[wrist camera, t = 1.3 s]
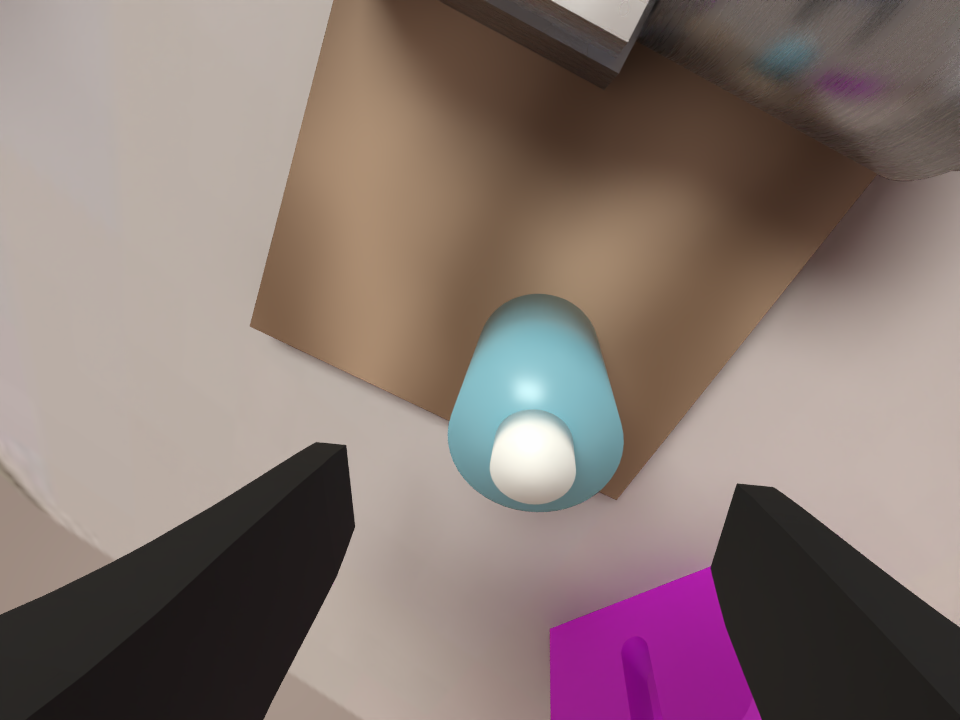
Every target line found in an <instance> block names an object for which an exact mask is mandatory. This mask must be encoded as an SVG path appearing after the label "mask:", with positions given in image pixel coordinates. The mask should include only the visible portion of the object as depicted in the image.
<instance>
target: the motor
mask: <svg viewBox="0 0 960 720" xmlns="http://www.w3.org/2000/svg"><path fill="white" fill-rule="evenodd" d="M438 1H440V2H442V3H443V4H445V5H447V6H449V7H451V8H453V9H455V10H456V11H458V12H460V13H462V14H464V15H466V16H468V17H469V18H471V19H473V20H475V21H477V22H479V23H481V24H482V25H484V26H486V27H488V28H490V29H492V30H494V31H495V32H497V33H499V34H501V35H503V36H505V37H507V38H508V39H510V40H512V41H514V42H516V43H518V44H520V45H521V46H523V47H525V48H527V49H529V50H531V51H533V52H534V53H536V54H538V55H540V56H542V57H544V58H546V59H547V60H549V61H551V62H553V63H555V64H557V65H559V66H560V67H562V68H564V69H566V70H568V71H570V72H572V73H573V74H575V75H577V76H579V77H581V78H583V79H585V80H586V81H588V82H590V83H592V84H594V85H596V86H598V87H599V88H601V89H603V90H604V89H605V88H606V87H607V86H608V85H609V84H610V83H611V82H612V81H613V79H614V78H615V77H616V76H617V75H618V74H619V72H620V70H621V68H622V66H623V64H624V62H625V61H626V59H627V57H628V55H629V53H630V51H631V49H632V47H633V45H634V43H635V41H636V42H638V43H640V44H642V45H644V46H646V47H647V48H649V49H651V50H653V51H655V52H656V53H658V54H660V55H662V56H664V57H666V58H667V59H669V60H671V61H673V62H675V63H676V64H678V65H680V66H682V67H684V68H686V69H687V70H689V71H691V72H693V73H695V74H697V75H698V76H700V77H702V78H704V79H706V80H707V81H709V82H711V83H713V84H715V85H717V86H718V87H720V88H722V89H724V90H726V91H727V92H729V93H731V94H733V95H735V96H737V97H738V98H740V99H742V100H744V101H746V102H748V103H749V104H751V105H753V106H755V107H757V108H758V109H760V110H762V111H764V112H766V113H768V114H769V115H771V116H773V117H775V118H777V119H778V120H780V121H782V122H784V123H786V124H788V125H789V126H791V127H793V128H795V129H797V130H798V131H800V132H802V133H804V134H806V135H808V136H809V137H811V138H813V139H815V140H817V141H819V142H820V143H822V144H824V145H826V146H828V147H829V148H831V149H833V150H835V151H837V152H839V153H840V154H842V155H844V156H846V157H848V158H849V159H851V160H853V161H855V162H857V163H859V164H860V165H862V166H864V167H866V168H868V169H870V170H871V171H873V172H875V173H877V174H879V175H881V176H883V177H885V178H887V179H891V180H896V181H912V180H919V179H925V178H929V177H933V176H937V175H940V174H944V173H947V172H950V171H960V0H438Z"/></svg>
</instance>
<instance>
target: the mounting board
mask: <svg viewBox="0 0 960 720" xmlns="http://www.w3.org/2000/svg"><path fill="white" fill-rule="evenodd" d="M876 175H877V173H875V172H873V171H871V170H870V169H868V168H866V167H864V166H862V165H860V164H859V163H857V162H855V161H853V160H851V159H849V158H848V157H846V156H844V155H842V154H840V153H839V152H837V151H835V150H833V149H831V148H829V147H828V146H826V145H824V144H822V143H820V142H819V141H817V140H815V139H813V138H811V137H809V136H808V135H806V134H804V133H802V132H800V131H798V130H797V129H795V128H793V127H791V126H789V125H788V124H786V123H784V122H782V121H780V120H778V119H777V118H775V117H773V116H771V115H769V114H768V113H766V112H764V111H762V110H760V109H758V108H757V107H755V106H753V105H751V104H749V103H748V102H746V101H744V100H742V99H740V98H738V97H737V96H735V95H733V94H731V93H729V92H727V91H726V90H724V89H722V88H720V87H718V86H717V85H715V84H713V83H711V82H709V81H707V80H706V79H704V78H702V77H700V76H698V75H697V74H695V73H693V72H691V71H689V70H687V69H686V68H684V67H682V66H680V65H678V64H676V63H675V62H673V61H671V60H669V59H667V58H666V57H664V56H662V55H660V54H658V53H656V52H655V51H653V50H651V49H649V48H647V47H646V46H644V45H642V44H640V43H638V42H636V41H635V43H634V45H633V47H632V49H631V51H630V53H629V55H628V57H627V59H626V61H625V62H624V64H623V66H622V68H621V70H620V72H619V74H618V75H617V76H616V77H615V78H614V79H613V81H612V82H611V83H610V84H609V85H608V86H607V87H606V88H605V89H604V90H603V89H601V88H599V87H598V86H596V85H594V84H592V83H590V82H588V81H586V80H585V79H583V78H581V77H579V76H577V75H575V74H573V73H572V72H570V71H568V70H566V69H564V68H562V67H560V66H559V65H557V64H555V63H553V62H551V61H549V60H547V59H546V58H544V57H542V56H540V55H538V54H536V53H534V52H533V51H531V50H529V49H527V48H525V47H523V46H521V45H520V44H518V43H516V42H514V41H512V40H510V39H508V38H507V37H505V36H503V35H501V34H499V33H497V32H495V31H494V30H492V29H490V28H488V27H486V26H484V25H482V24H481V23H479V22H477V21H475V20H473V19H471V18H469V17H468V16H466V15H464V14H462V13H460V12H458V11H456V10H455V9H453V8H451V7H449V6H447V5H445V4H443V3H442V2H440V1H438V0H334V1H333V4H332V8H331V12H330V16H329V20H328V24H327V28H326V32H325V36H324V39H323V43H322V47H321V51H320V55H319V59H318V63H317V67H316V71H315V74H314V78H313V82H312V86H311V90H310V94H309V98H308V102H307V106H306V109H305V113H304V117H303V121H302V125H301V129H300V133H299V137H298V141H297V144H296V148H295V152H294V156H293V160H292V164H291V168H290V172H289V176H288V179H287V183H286V187H285V191H284V195H283V199H282V203H281V207H280V211H279V214H278V218H277V222H276V226H275V230H274V234H273V238H272V242H271V246H270V249H269V253H268V257H267V261H266V265H265V269H264V273H263V277H262V281H261V284H260V288H259V292H258V296H257V300H256V304H255V308H254V312H253V316H252V319H251V323H250V327H252V328H254V329H257V330H259V331H261V332H263V333H265V334H267V335H269V336H271V337H273V338H276V339H278V340H280V341H282V342H284V343H286V344H288V345H290V346H292V347H295V348H297V349H299V350H301V351H303V352H305V353H307V354H309V355H311V356H314V357H316V358H318V359H320V360H322V361H324V362H326V363H328V364H330V365H332V366H335V367H337V368H339V369H341V370H343V371H345V372H347V373H349V374H351V375H354V376H356V377H358V378H360V379H362V380H364V381H366V382H368V383H370V384H373V385H375V386H377V387H379V388H381V389H383V390H385V391H387V392H389V393H392V394H394V395H396V396H398V397H400V398H402V399H404V400H406V401H408V402H411V403H413V404H415V405H417V406H419V407H421V408H423V409H425V410H427V411H430V412H432V413H434V414H436V415H438V416H440V417H442V418H444V419H446V420H449V421H450V418H451V414H452V411H453V409H454V406H455V403H456V400H457V398H458V395H459V392H460V389H461V387H462V384H463V381H464V378H465V376H466V373H467V370H468V368H469V365H470V362H471V359H472V357H473V354H474V351H475V348H476V346H477V343H478V340H479V337H480V335H481V332H482V330H483V327H484V325H485V323H486V322H487V320H488V318H489V317H490V316H491V315H492V313H493V312H494V311H495V310H497V309H498V308H499V307H500V306H501V305H503V304H504V303H506V302H508V301H510V300H512V299H514V298H517V297H519V296H523V295H528V294H548V295H554V296H557V297H560V298H563V299H565V300H567V301H569V302H571V303H573V304H574V305H576V306H577V307H578V308H579V309H581V310H582V311H583V312H584V314H585V315H586V316H587V317H588V318H589V320H590V321H591V323H592V325H593V327H594V329H595V332H596V335H597V338H598V342H599V345H600V349H601V352H602V356H603V360H604V363H605V367H606V370H607V374H608V378H609V381H610V385H611V388H612V392H613V396H614V399H615V403H616V406H617V410H618V414H619V417H620V421H621V425H622V430H623V440H624V445H623V453H622V457H621V460H620V463H619V466H618V468H617V470H616V472H615V473H614V475H613V476H612V478H611V479H610V481H609V482H608V483H607V484H606V485H605V486H604V487H603V488H602V489H601V490H600V491H599V492H601V493H603V494H605V495H607V496H609V497H611V498H613V499H615V500H617V499H618V497H619V496H620V495H621V494H622V492H623V491H624V490H625V489H626V487H627V486H628V485H629V484H630V482H631V481H632V480H633V479H634V477H635V476H636V475H637V474H638V472H639V471H640V470H641V469H642V467H643V466H644V465H645V464H646V462H647V461H648V460H649V459H650V457H651V456H652V455H653V454H654V452H655V451H656V450H657V449H658V447H659V446H660V445H661V444H662V443H663V441H664V440H665V439H666V438H667V436H668V435H669V434H670V433H671V431H672V430H673V429H674V428H675V426H676V425H677V424H678V423H679V421H680V420H681V419H682V418H683V416H684V415H685V414H686V413H687V411H688V410H689V409H690V408H691V406H692V405H693V404H694V403H695V401H696V400H697V399H698V398H699V396H700V395H701V394H702V393H703V391H704V390H705V389H706V388H707V386H708V385H709V384H710V383H711V381H712V380H713V379H714V378H715V376H716V375H717V374H718V373H719V371H720V370H721V369H722V368H723V366H724V365H725V364H726V363H727V361H728V360H729V359H730V358H731V356H732V355H733V354H734V353H735V351H736V350H737V349H738V348H739V346H740V345H741V344H742V343H743V341H744V340H745V339H746V338H747V336H748V335H749V334H750V333H751V331H752V330H753V329H754V328H755V326H756V325H757V324H758V323H759V321H760V320H761V319H762V318H763V316H764V315H765V314H766V313H767V311H768V310H769V309H770V308H771V306H772V305H773V304H774V303H775V301H776V300H777V299H778V298H779V296H780V295H781V294H782V293H783V291H784V290H785V289H786V288H787V286H788V285H789V284H790V283H791V281H792V280H793V279H794V278H795V276H796V275H797V274H798V273H799V271H800V270H801V269H802V268H803V266H804V265H805V264H806V263H807V261H808V260H809V259H810V258H811V256H812V255H813V254H814V253H815V251H816V250H817V249H818V248H819V246H820V245H821V244H822V243H823V241H824V240H825V239H826V238H827V236H828V235H829V234H830V233H831V231H832V230H833V229H834V228H835V226H836V225H837V224H838V223H839V221H840V220H841V219H842V218H843V216H844V215H845V214H846V213H847V211H848V210H849V209H850V208H851V206H852V205H853V204H854V203H855V201H856V200H857V199H858V198H859V196H860V195H861V194H862V193H863V191H864V190H865V189H866V188H867V186H868V185H869V184H870V183H871V181H872V180H873V179H874V178H875V176H876Z"/></svg>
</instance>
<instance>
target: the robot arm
mask: <svg viewBox="0 0 960 720" xmlns="http://www.w3.org/2000/svg"><path fill="white" fill-rule="evenodd" d="M354 528H355V522H354V512H353V503H352V494H351V485H350V476H349V467H348V457H347V448H346V445H339V444H329V443H319V442H316V443H314V444H312V445H310V446H309V447H307V448H305V449H303V450H302V451H300V452H298V453H297V454H295V455H293V456H292V457H290V458H289V459H287V460H285V461H284V462H282V463H281V464H279V465H277V466H276V467H274V468H273V469H271V470H270V471H268V472H266V473H265V474H263V475H262V476H260V477H259V478H257V479H255V480H254V481H252V482H251V483H249V484H247V485H246V486H244V487H243V488H241V489H239V490H238V491H236V492H234V493H233V494H231V495H230V496H228V497H226V498H225V499H223V500H222V501H220V502H218V503H217V504H215V505H213V506H212V507H210V508H208V509H207V510H205V511H203V512H201V513H200V514H198V515H196V516H194V517H193V518H191V519H189V520H188V521H186V522H184V523H182V524H181V525H179V526H177V527H175V528H174V529H172V530H170V531H168V532H167V533H165V534H163V535H161V536H160V537H158V538H156V539H155V540H153V541H151V542H149V543H147V544H146V545H144V546H142V547H140V548H138V549H136V550H135V551H133V552H131V553H129V554H127V555H125V556H123V557H121V558H119V559H117V560H115V561H114V562H112V563H110V564H108V565H106V566H104V567H102V568H100V569H98V570H96V571H94V572H92V573H90V574H88V575H86V576H84V577H82V578H80V579H77V580H75V581H73V582H71V583H69V584H67V585H65V586H63V587H61V588H59V589H57V590H55V591H53V592H51V593H48V594H46V595H44V596H42V597H40V598H38V599H35V600H33V601H31V602H28V603H26V604H24V605H21V606H19V607H17V608H15V609H12V610H10V611H8V612H6V613H3V614H1V615H0V720H263V719H264V717H265V715H266V713H267V711H268V709H269V707H270V704H271V702H272V700H273V698H274V696H275V695H276V692H277V691H278V689H279V687H280V685H281V683H282V681H283V679H284V677H285V675H286V673H287V672H288V670H289V668H290V666H291V664H292V662H293V660H294V658H295V656H296V654H297V652H298V650H299V648H300V647H301V645H302V643H303V641H304V639H305V637H306V635H307V633H308V631H309V629H310V627H311V625H312V624H313V622H314V620H315V618H316V616H317V614H318V612H319V610H320V608H321V606H322V604H323V602H324V600H325V598H326V596H327V594H328V592H329V590H330V588H331V586H332V584H333V582H334V580H335V578H336V576H337V574H338V571H339V569H340V566H341V564H342V561H343V558H344V556H345V553H346V551H347V548H348V545H349V542H350V539H351V537H352V534H353V531H354ZM710 569H711V573H712V577H713V581H714V585H715V589H716V593H717V597H718V601H719V605H720V608H721V612H722V616H723V619H724V623H725V627H726V629H727V632H728V635H729V637H730V640H731V643H732V645H733V648H734V650H735V653H736V655H737V658H738V661H739V663H740V666H741V668H742V671H743V673H744V676H745V679H746V681H747V684H748V686H749V689H750V691H751V694H752V696H753V699H754V701H755V704H756V706H757V709H758V711H759V714H760V716H761V719H762V720H960V627H958V626H957V625H956V624H954V623H953V622H951V621H950V620H949V619H947V618H946V617H944V616H943V615H942V614H940V613H939V612H938V611H936V610H935V609H934V608H932V607H931V606H930V605H928V604H927V603H926V602H924V601H923V600H921V599H920V598H919V597H917V596H916V595H915V594H913V593H912V592H911V591H909V590H908V589H907V588H905V587H904V586H903V585H901V584H900V583H899V582H897V581H896V580H895V579H894V578H892V577H891V576H890V575H888V574H887V573H886V572H884V571H883V570H882V569H880V568H879V567H878V566H877V565H875V564H874V563H873V562H871V561H870V560H869V559H867V558H866V557H865V556H864V555H862V554H861V553H860V552H858V551H857V550H856V549H855V548H853V547H852V546H851V545H849V544H848V543H847V542H846V541H844V540H843V539H842V538H840V537H839V536H838V535H837V534H835V533H834V532H833V531H832V530H830V529H829V528H828V527H826V526H825V525H824V524H823V523H821V522H820V521H819V520H817V519H816V518H815V517H813V516H812V515H811V514H810V513H808V512H807V511H806V510H804V509H803V508H802V507H800V506H799V505H798V504H796V503H795V502H794V501H792V500H791V499H790V498H788V497H787V496H786V495H784V494H783V493H781V492H780V491H778V490H777V489H775V488H774V487H766V486H756V485H746V484H737V485H736V488H735V491H734V494H733V498H732V501H731V504H730V507H729V511H728V514H727V517H726V520H725V523H724V527H723V530H722V533H721V536H720V539H719V543H718V546H717V549H716V552H715V555H714V559H713V562H712V565H711V568H710Z"/></svg>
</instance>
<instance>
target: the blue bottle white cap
mask: <svg viewBox="0 0 960 720" xmlns="http://www.w3.org/2000/svg"><path fill="white" fill-rule="evenodd" d="M448 444H449V449H450V453H451V456H452V459H453V462H454V464H455V465H456V467H457V469H458V471H459V472H460V474H461V475H462V476H463V478H464V479H465V480H466V481H467V482H468V483H469V484H470V486H472V487H473V488H474V489H475V490H476V491H477V492H479V493H480V494H482V495H483V496H485V497H486V498H488V499H490V500H492V501H494V502H495V503H498V504H500V505H503V506H505V507H509V508H512V509H516V510H522V511H529V512H550V511H557V510H562V509H566V508H569V507H572V506H575V505H578V504H580V503H582V502H584V501H586V500H588V499H589V498H591V497H592V496H594V495H595V494H597V493H598V492H599V491H600V490H601V489H602V488H603V487H604V486H605V485H606V484H607V483H608V482H609V481H610V479H611V478H612V476H613V475H614V473H615V472H616V470H617V468H618V466H619V463H620V460H621V457H622V453H623V445H624V440H623V430H622V425H621V421H620V417H619V414H618V410H617V406H616V403H615V399H614V396H613V392H612V388H611V385H610V381H609V378H608V374H607V370H606V367H605V363H604V360H603V356H602V352H601V349H600V345H599V342H598V338H597V335H596V332H595V329H594V327H593V325H592V323H591V321H590V320H589V318H588V317H587V316H586V315H585V314H584V312H583V311H582V310H581V309H579V308H578V307H577V306H576V305H574V304H573V303H571V302H569V301H567V300H565V299H563V298H560V297H557V296H554V295H548V294H528V295H523V296H519V297H517V298H514V299H512V300H510V301H508V302H506V303H504V304H503V305H501V306H500V307H499V308H498V309H497V310H495V311H494V312H493V313H492V315H491V316H490V317H489V318H488V320H487V322H486V323H485V325H484V327H483V330H482V332H481V335H480V337H479V340H478V343H477V346H476V348H475V351H474V354H473V357H472V359H471V362H470V365H469V368H468V370H467V373H466V376H465V378H464V381H463V384H462V387H461V389H460V392H459V395H458V398H457V400H456V403H455V406H454V409H453V411H452V414H451V418H450V421H449V427H448Z"/></svg>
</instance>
